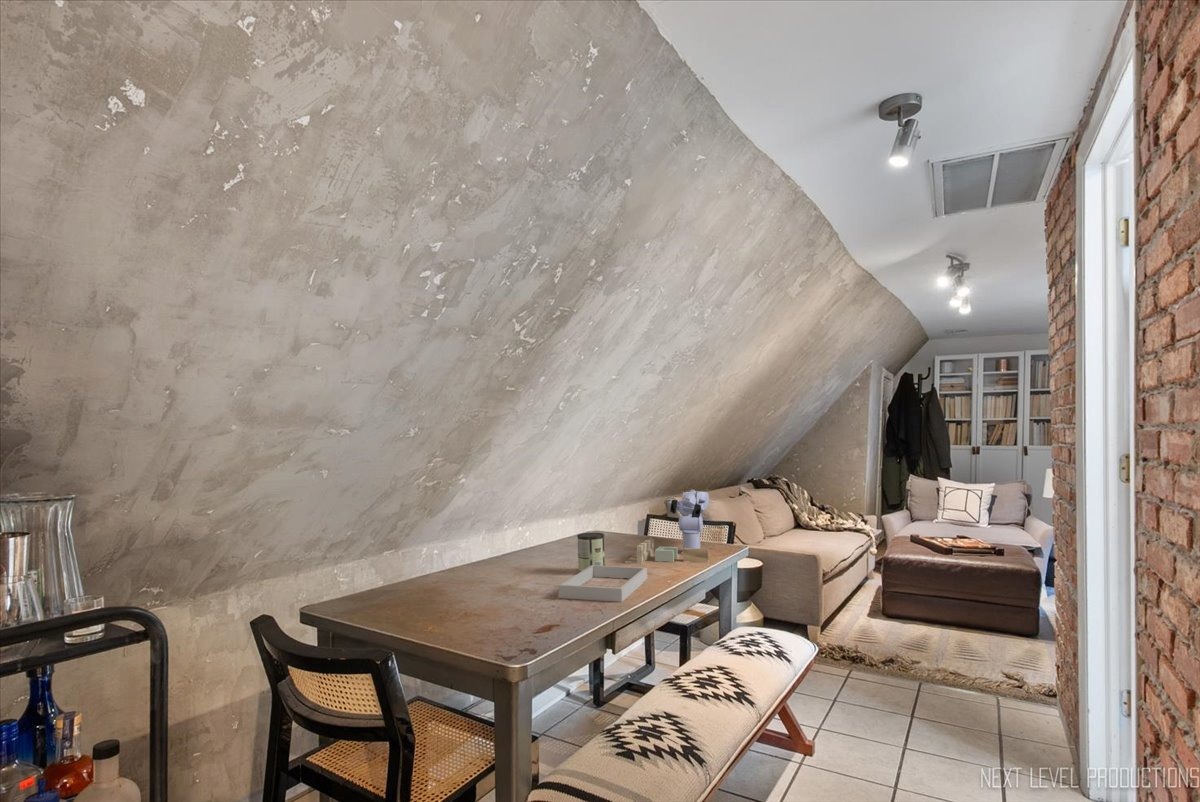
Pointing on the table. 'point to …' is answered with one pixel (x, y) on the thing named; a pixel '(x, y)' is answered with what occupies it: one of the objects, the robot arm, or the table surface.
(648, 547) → the wall
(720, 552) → the table surface
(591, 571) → the gray rectangular frame
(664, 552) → the block
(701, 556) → the peg
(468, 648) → the table surface
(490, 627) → the table surface
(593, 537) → the coffee can
